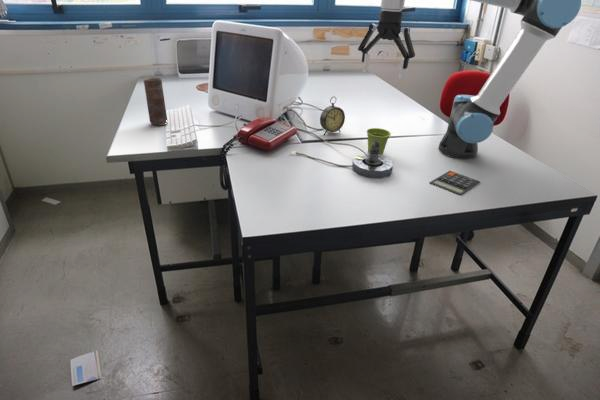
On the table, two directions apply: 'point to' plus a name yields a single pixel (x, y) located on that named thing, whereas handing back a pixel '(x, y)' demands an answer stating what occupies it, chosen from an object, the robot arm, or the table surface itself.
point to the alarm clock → (332, 118)
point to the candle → (155, 101)
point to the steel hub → (372, 172)
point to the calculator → (455, 182)
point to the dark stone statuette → (374, 155)
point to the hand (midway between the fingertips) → (382, 75)
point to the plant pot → (378, 138)
